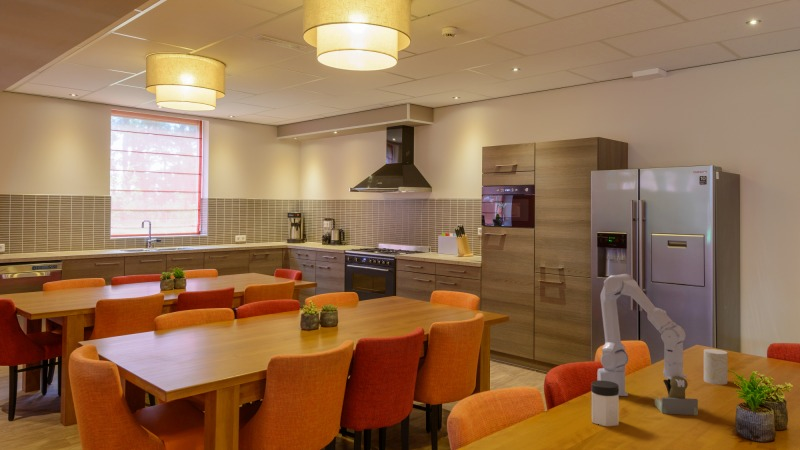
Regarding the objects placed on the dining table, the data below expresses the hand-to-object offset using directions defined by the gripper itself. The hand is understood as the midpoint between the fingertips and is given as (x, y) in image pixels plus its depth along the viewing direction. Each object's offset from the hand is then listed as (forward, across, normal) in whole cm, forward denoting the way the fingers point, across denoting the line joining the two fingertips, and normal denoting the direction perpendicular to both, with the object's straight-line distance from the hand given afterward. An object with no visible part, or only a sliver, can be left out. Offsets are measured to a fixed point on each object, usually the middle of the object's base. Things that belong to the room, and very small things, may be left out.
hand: (673, 401), depth 186 cm
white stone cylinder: (+2, +35, -27) cm, 44 cm away
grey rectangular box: (+2, -2, 0) cm, 3 cm away
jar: (+2, -17, +26) cm, 31 cm away
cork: (+1, -2, 0) cm, 2 cm away
